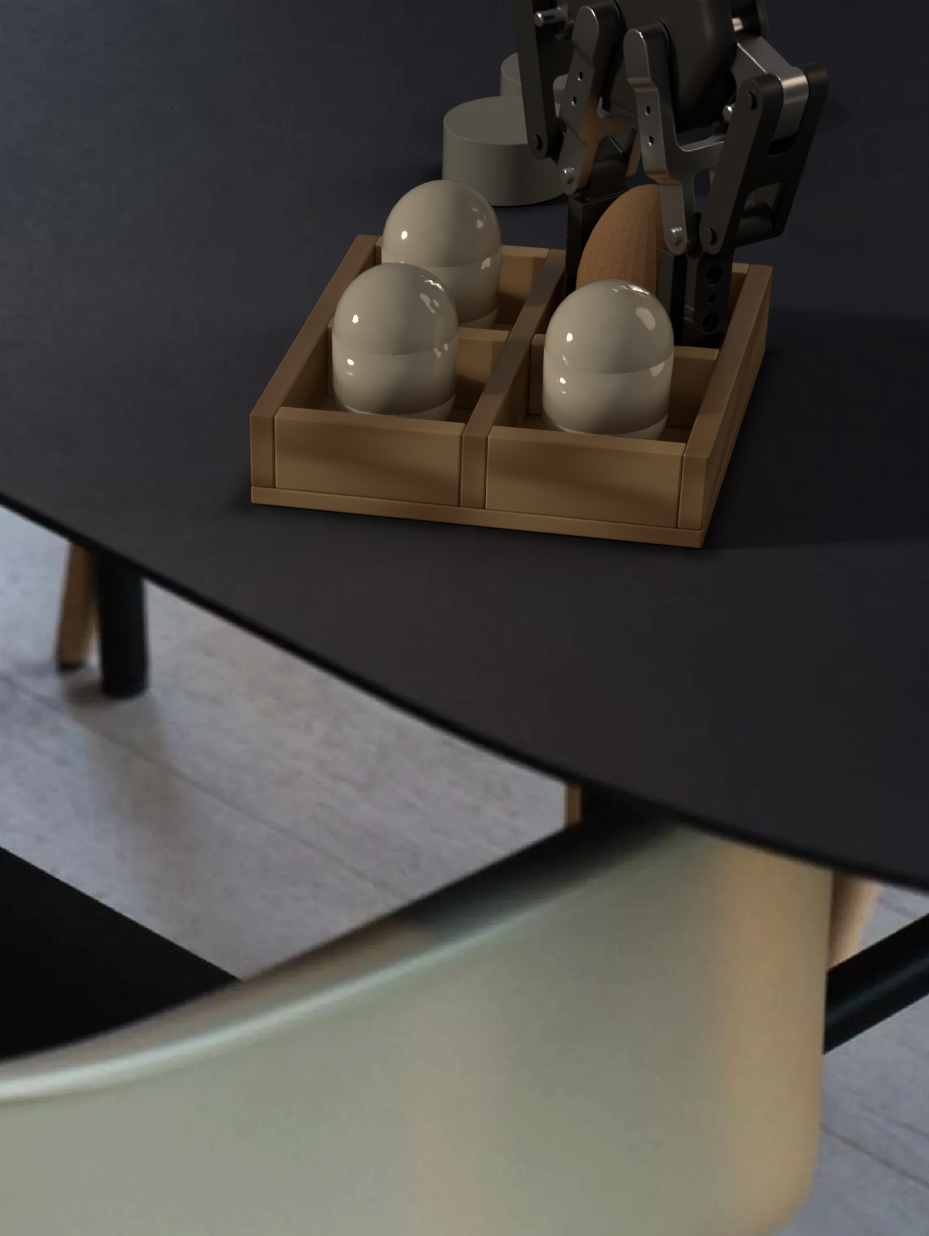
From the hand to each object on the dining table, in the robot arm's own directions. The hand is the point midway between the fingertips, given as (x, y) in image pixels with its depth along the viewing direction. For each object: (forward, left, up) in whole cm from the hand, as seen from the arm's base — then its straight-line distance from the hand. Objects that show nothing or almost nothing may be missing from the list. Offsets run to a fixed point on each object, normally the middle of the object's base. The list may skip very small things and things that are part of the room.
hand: (641, 324), depth 97 cm
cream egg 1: (+7, 0, -2) cm, 7 cm away
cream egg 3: (0, +7, -2) cm, 7 cm away
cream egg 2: (+7, +7, -2) cm, 10 cm away
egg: (0, 0, -1) cm, 1 cm away
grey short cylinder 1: (+7, -23, -2) cm, 24 cm away
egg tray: (+3, +3, -2) cm, 5 cm away
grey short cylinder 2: (+8, -17, -2) cm, 19 cm away
